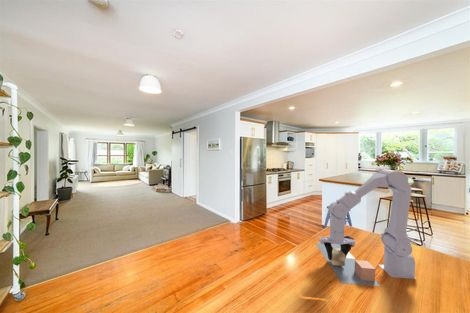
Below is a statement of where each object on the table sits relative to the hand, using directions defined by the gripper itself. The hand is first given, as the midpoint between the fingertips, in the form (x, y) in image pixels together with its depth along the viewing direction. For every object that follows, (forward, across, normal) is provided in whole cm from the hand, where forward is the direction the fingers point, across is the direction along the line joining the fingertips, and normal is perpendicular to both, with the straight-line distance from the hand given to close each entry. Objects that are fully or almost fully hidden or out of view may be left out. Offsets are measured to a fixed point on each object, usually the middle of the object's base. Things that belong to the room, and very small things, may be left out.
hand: (336, 259), depth 81 cm
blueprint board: (+3, -4, -3) cm, 6 cm away
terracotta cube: (+2, -8, +7) cm, 11 cm away
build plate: (+4, -15, -20) cm, 25 cm away
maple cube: (+1, 0, 0) cm, 1 cm away
